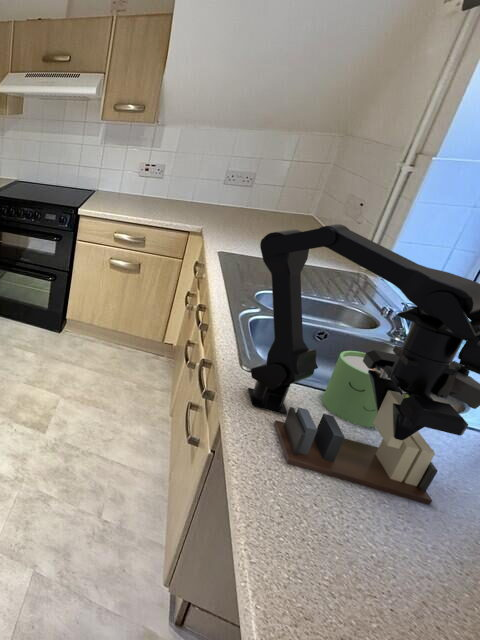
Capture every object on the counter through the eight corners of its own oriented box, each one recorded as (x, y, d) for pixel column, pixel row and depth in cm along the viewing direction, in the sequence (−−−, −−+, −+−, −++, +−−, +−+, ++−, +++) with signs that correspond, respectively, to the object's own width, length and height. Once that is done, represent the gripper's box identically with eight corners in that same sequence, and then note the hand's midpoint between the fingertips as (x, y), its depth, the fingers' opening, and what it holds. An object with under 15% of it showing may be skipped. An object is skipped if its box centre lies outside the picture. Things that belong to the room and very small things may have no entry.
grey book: (288, 430, 83) (298, 406, 81) (298, 433, 82) (308, 409, 80) (297, 452, 78) (307, 427, 76) (307, 455, 77) (317, 430, 75)
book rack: (273, 424, 86) (282, 400, 84) (398, 457, 79) (411, 432, 77) (287, 463, 77) (297, 437, 75) (429, 505, 69) (445, 478, 67)
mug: (329, 417, 88) (348, 371, 84) (316, 389, 97) (334, 346, 93) (407, 439, 83) (432, 391, 79) (386, 407, 92) (408, 362, 88)
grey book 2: (313, 437, 82) (323, 413, 79) (323, 440, 81) (333, 415, 79) (323, 459, 76) (334, 434, 74) (333, 462, 76) (345, 437, 74)
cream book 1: (372, 422, 77) (388, 390, 74) (383, 425, 76) (399, 392, 73) (387, 445, 71) (404, 411, 69) (399, 449, 71) (417, 414, 68)
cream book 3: (388, 457, 77) (405, 426, 75) (400, 460, 77) (416, 429, 74) (404, 483, 72) (422, 450, 69) (416, 486, 71) (435, 453, 69)
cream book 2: (375, 454, 78) (390, 422, 75) (386, 457, 77) (402, 425, 75) (390, 478, 73) (407, 446, 70) (401, 482, 72) (419, 449, 70)
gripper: (542, 402, 56) (488, 485, 62) (459, 336, 72) (421, 407, 78) (433, 379, 61) (392, 459, 66) (377, 321, 76) (347, 390, 82)
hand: (389, 426), depth 73 cm, fingers closed on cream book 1, 6 cm apart
